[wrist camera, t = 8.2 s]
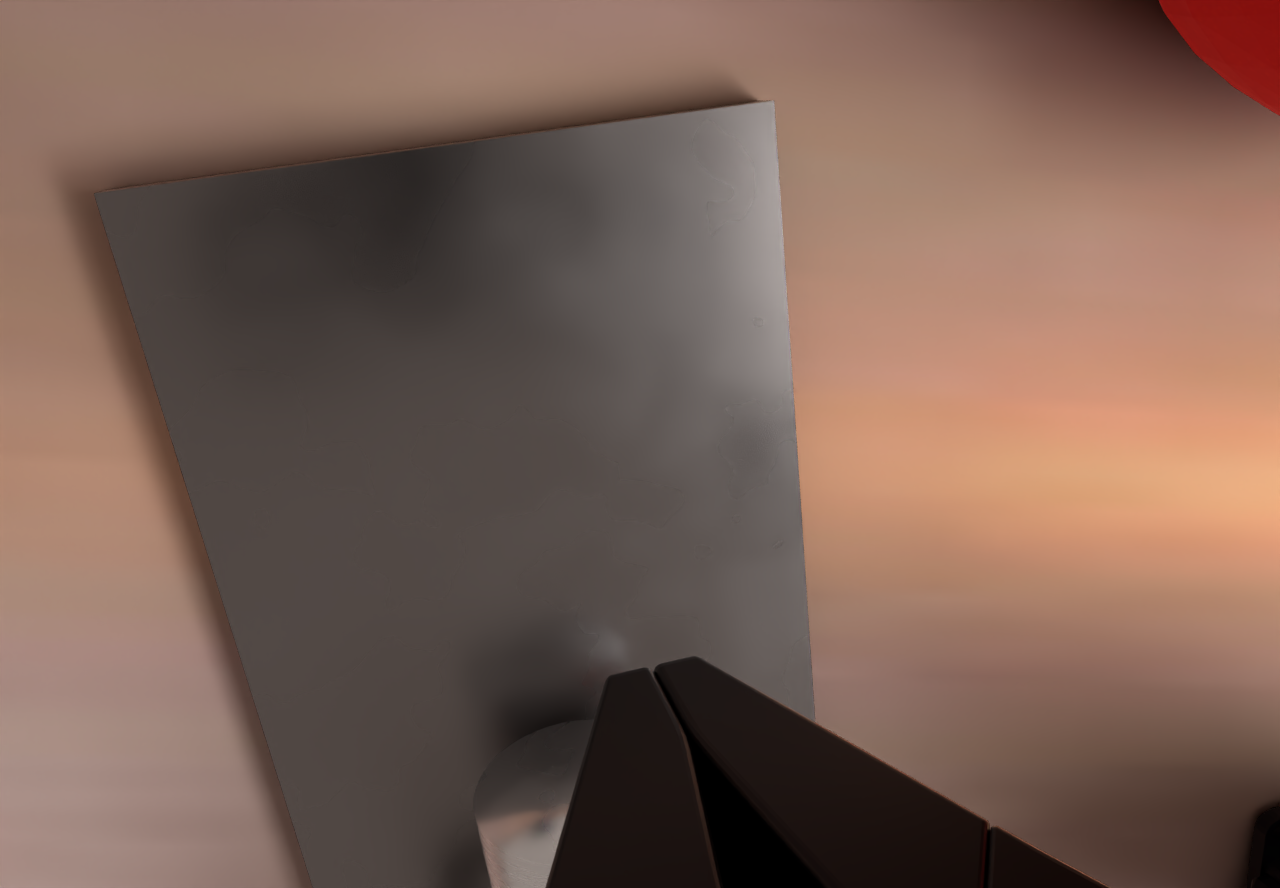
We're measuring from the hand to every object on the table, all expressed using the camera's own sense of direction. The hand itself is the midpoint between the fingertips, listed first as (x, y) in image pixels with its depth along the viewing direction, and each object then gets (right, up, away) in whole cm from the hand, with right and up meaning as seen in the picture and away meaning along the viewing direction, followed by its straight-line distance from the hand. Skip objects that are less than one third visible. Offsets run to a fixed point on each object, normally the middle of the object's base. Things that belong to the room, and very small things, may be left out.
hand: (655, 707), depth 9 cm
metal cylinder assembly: (-2, -8, +15) cm, 17 cm away
